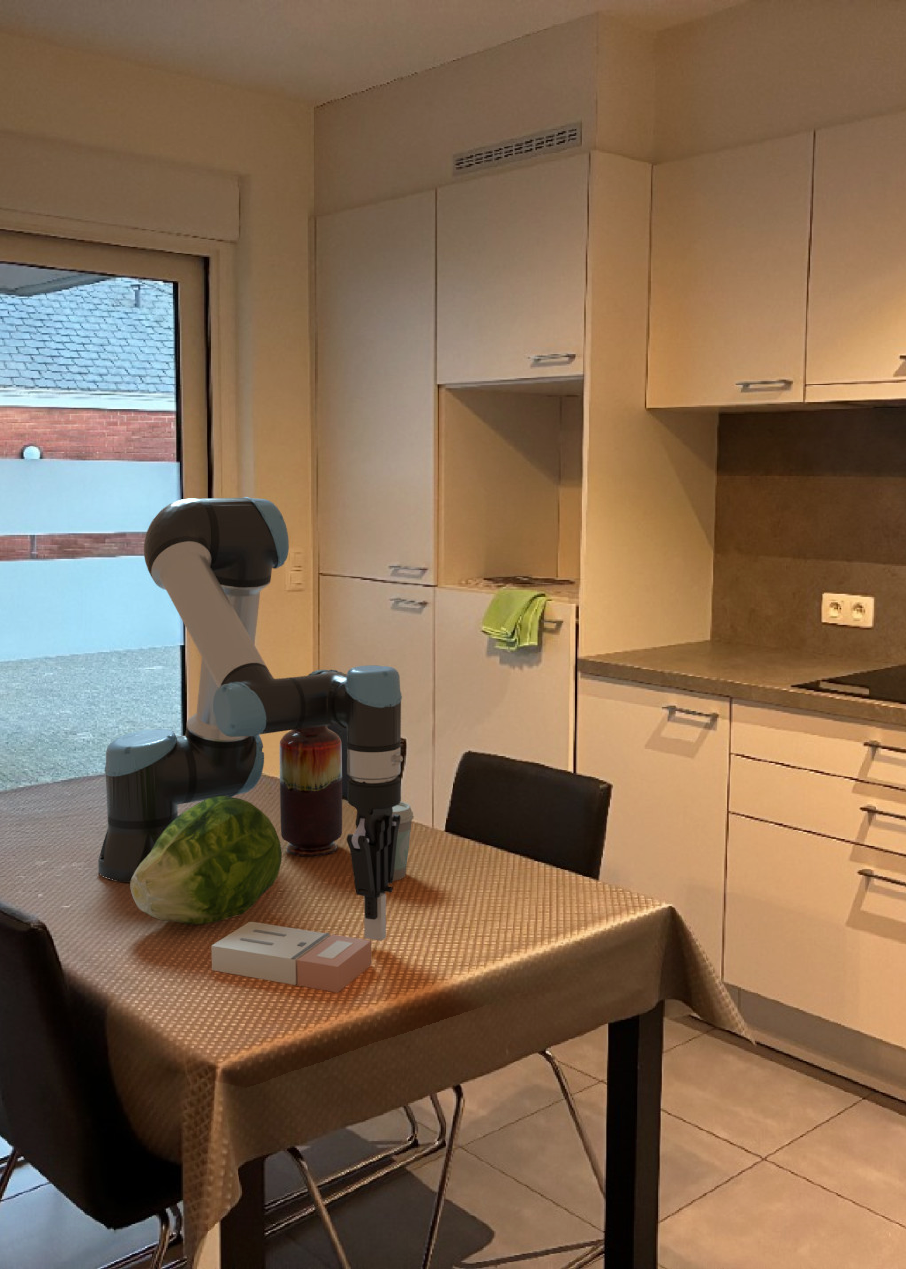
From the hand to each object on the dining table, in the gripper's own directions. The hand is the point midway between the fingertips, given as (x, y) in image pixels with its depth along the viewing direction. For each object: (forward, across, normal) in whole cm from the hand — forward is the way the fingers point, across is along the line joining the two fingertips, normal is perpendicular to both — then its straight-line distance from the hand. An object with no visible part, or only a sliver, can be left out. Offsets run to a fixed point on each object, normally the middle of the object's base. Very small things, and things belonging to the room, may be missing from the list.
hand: (375, 937), depth 179 cm
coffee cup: (+2, +30, +12) cm, 32 cm away
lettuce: (+2, +1, +29) cm, 29 cm away
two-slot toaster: (+2, -11, +11) cm, 15 cm away
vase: (+2, +38, +31) cm, 49 cm away
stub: (+2, -11, +1) cm, 11 cm away
